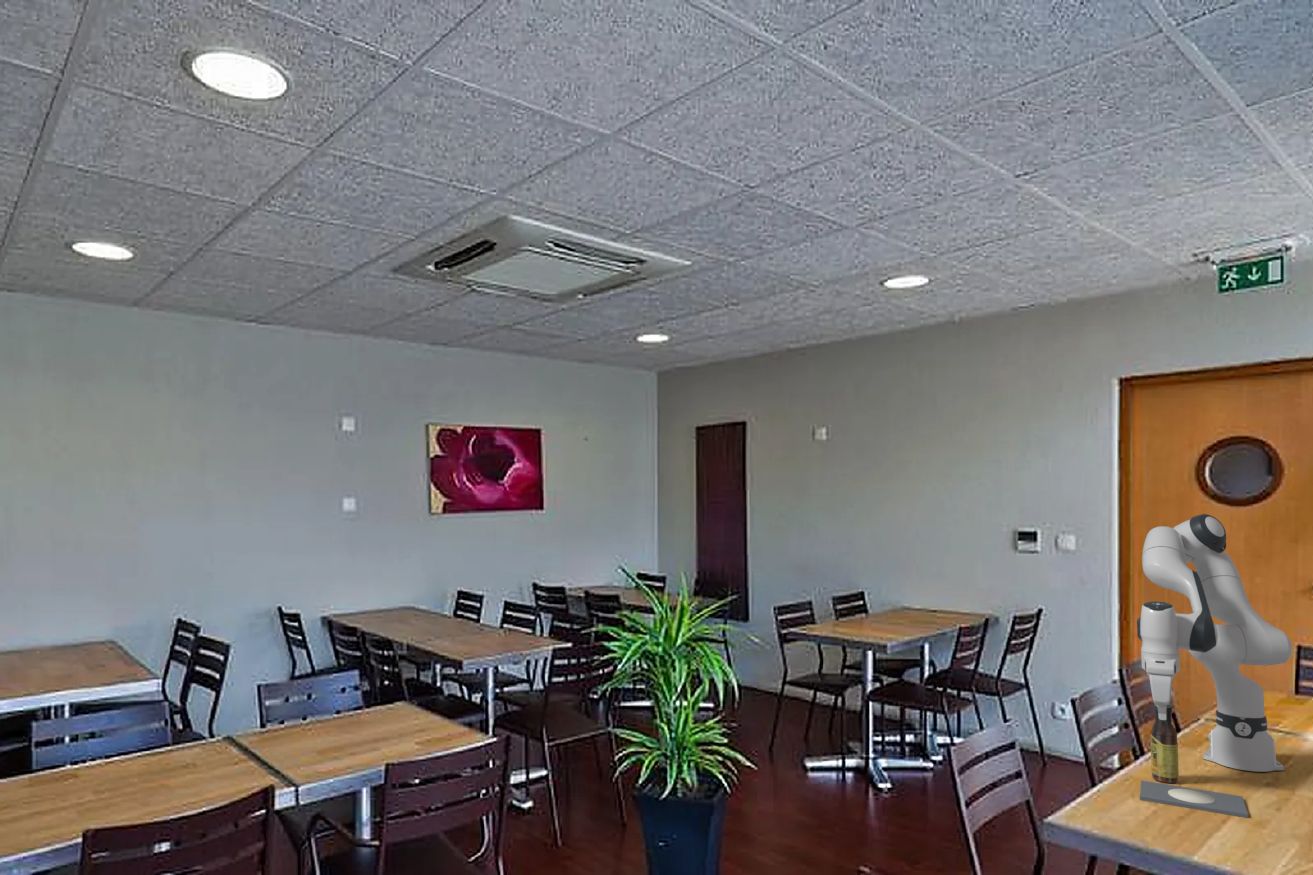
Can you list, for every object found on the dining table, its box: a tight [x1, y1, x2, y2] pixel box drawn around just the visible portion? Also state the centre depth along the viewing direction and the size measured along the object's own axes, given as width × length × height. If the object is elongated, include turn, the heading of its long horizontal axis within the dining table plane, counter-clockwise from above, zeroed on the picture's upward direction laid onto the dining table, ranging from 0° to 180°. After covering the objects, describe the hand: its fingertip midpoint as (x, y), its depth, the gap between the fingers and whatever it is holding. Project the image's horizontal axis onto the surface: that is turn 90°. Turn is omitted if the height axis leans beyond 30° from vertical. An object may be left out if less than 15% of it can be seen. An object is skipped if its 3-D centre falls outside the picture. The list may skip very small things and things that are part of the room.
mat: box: [1139, 779, 1249, 819], centre depth 207 cm, size 14×22×1 cm, turn 59°
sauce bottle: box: [1149, 703, 1179, 785], centre depth 222 cm, size 6×6×20 cm
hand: (1162, 716), depth 222 cm, fingers open, 8 cm apart
